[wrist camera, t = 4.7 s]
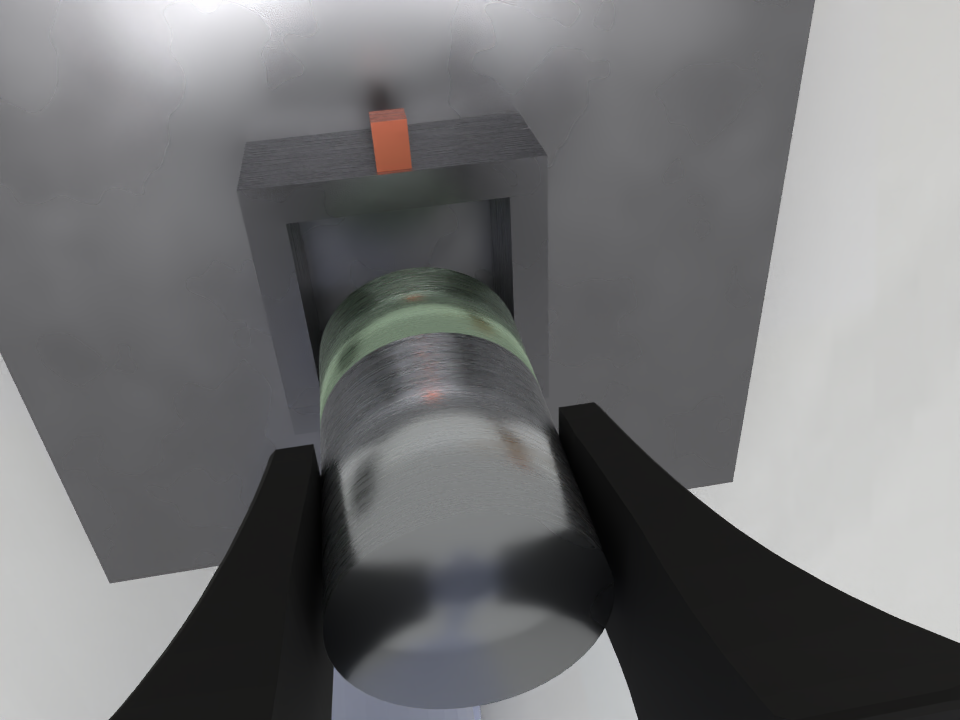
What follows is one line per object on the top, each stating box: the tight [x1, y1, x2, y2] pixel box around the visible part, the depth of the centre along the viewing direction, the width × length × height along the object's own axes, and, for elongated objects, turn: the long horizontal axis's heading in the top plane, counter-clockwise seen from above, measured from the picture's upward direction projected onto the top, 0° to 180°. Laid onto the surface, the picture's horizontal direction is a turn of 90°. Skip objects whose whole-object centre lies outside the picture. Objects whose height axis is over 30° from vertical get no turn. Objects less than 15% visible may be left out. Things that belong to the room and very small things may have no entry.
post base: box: [0, 0, 815, 583], centre depth 20 cm, size 20×20×4 cm
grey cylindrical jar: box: [319, 267, 615, 709], centre depth 14 cm, size 4×4×6 cm
